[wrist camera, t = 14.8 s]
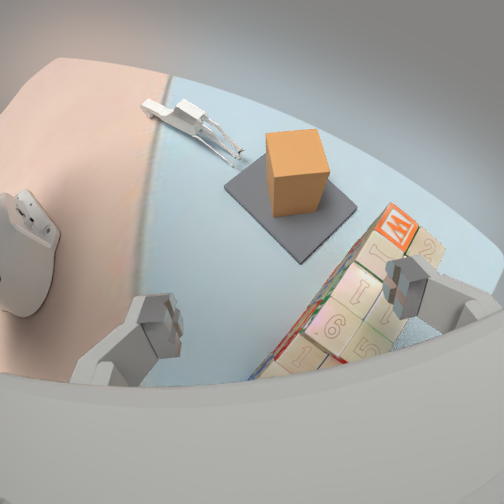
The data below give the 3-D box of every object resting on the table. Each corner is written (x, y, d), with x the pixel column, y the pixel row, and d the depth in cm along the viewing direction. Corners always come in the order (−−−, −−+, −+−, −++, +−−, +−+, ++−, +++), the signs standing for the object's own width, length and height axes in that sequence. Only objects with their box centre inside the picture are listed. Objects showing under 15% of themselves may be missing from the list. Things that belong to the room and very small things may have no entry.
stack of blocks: (279, 424, 27) (285, 475, 15) (235, 392, 28) (215, 428, 16) (392, 276, 31) (448, 246, 19) (352, 244, 32) (392, 199, 20)
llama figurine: (231, 173, 42) (148, 106, 39) (249, 145, 31) (143, 65, 28) (223, 181, 42) (140, 113, 39) (239, 155, 31) (132, 73, 28)
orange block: (273, 217, 32) (274, 177, 24) (266, 179, 34) (265, 133, 25) (315, 212, 32) (330, 171, 24) (306, 175, 34) (316, 128, 25)
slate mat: (224, 189, 35) (223, 186, 34) (281, 144, 36) (282, 140, 35) (299, 264, 32) (300, 262, 31) (356, 209, 33) (357, 206, 32)
